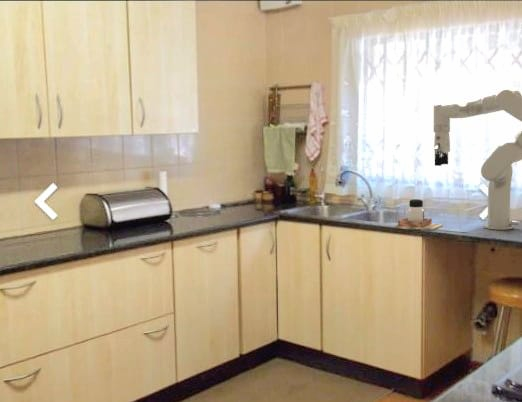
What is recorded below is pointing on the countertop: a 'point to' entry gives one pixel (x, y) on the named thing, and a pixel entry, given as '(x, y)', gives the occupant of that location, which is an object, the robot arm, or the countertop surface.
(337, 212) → the countertop surface
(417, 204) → the medicine bottle
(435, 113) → the robot arm
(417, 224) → the dock board
